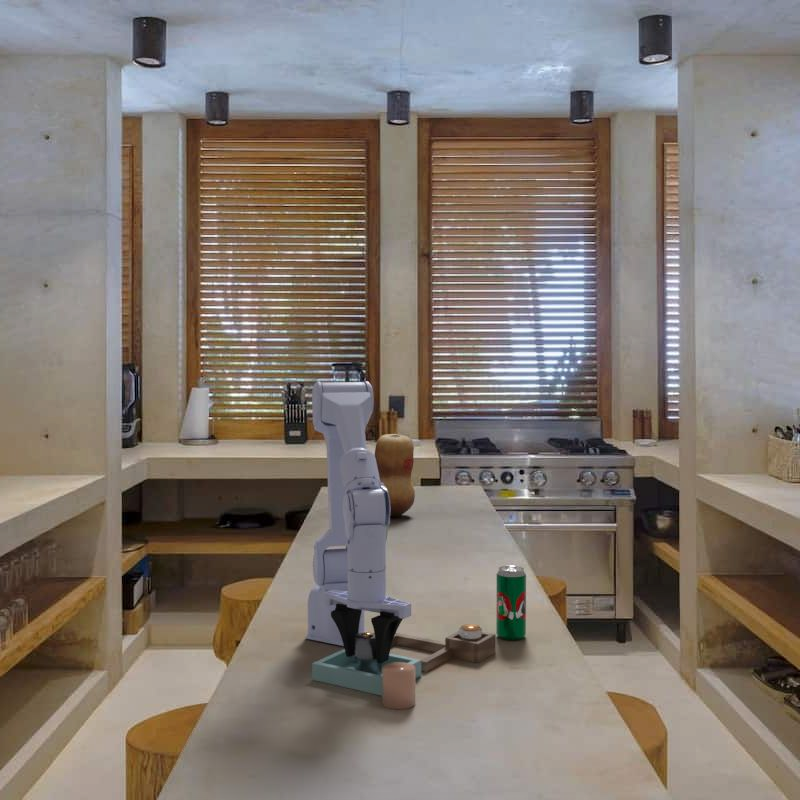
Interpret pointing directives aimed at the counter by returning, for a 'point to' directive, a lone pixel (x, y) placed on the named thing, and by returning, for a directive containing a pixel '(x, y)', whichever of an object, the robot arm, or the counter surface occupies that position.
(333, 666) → the teal tray
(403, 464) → the butternut squash
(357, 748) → the counter surface
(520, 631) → the soda can
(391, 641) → the robot arm
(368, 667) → the cell
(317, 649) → the counter surface
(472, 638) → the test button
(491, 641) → the square wooden box
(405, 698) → the peach glossy rounded part
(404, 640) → the cradle
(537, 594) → the counter surface
